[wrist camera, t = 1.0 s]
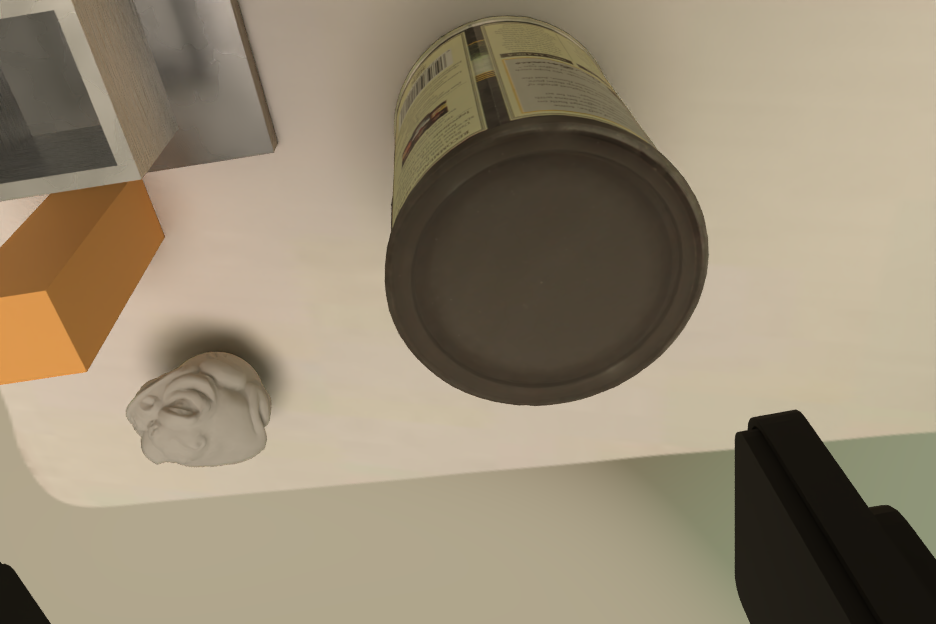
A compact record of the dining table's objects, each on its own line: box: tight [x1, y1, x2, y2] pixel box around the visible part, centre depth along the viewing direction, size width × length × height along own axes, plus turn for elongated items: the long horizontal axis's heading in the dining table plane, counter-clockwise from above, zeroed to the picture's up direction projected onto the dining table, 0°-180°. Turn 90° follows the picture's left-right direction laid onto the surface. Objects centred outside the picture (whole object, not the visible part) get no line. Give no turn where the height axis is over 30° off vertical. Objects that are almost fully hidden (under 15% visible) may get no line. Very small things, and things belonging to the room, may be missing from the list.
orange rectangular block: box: [0, 179, 165, 385], centre depth 33 cm, size 4×4×11 cm
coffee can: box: [385, 16, 709, 406], centre depth 31 cm, size 10×10×14 cm
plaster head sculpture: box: [126, 352, 271, 467], centre depth 40 cm, size 6×7×7 cm
